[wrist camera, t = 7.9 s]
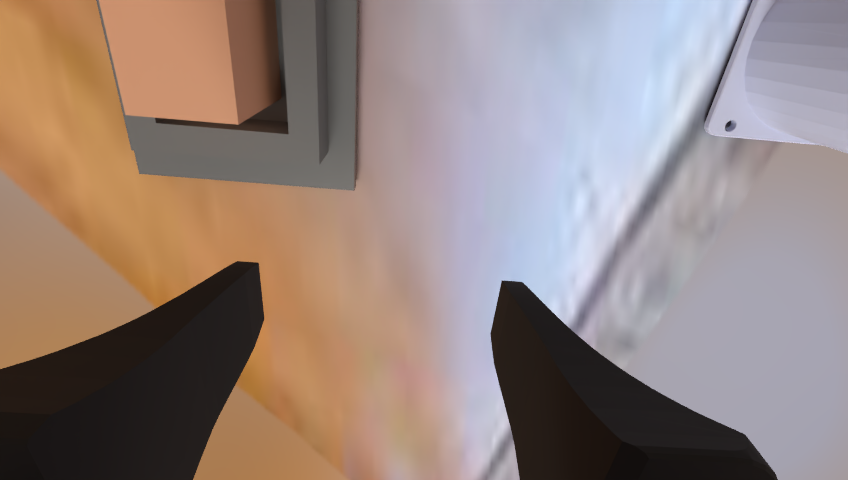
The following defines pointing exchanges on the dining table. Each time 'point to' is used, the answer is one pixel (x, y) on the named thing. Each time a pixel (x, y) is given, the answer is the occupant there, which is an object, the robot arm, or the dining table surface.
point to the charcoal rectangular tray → (274, 113)
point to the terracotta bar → (194, 57)
